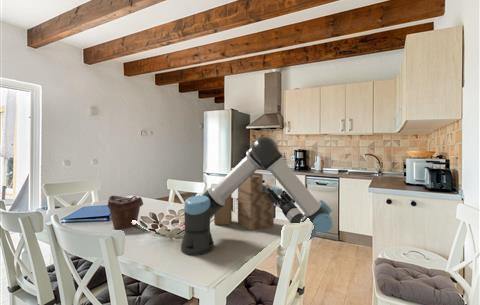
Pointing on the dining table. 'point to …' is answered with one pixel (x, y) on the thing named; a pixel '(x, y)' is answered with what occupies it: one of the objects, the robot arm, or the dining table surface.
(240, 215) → the walnut stand
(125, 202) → the brown pot
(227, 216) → the wooden block
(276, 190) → the slate rail
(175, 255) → the dining table surface
